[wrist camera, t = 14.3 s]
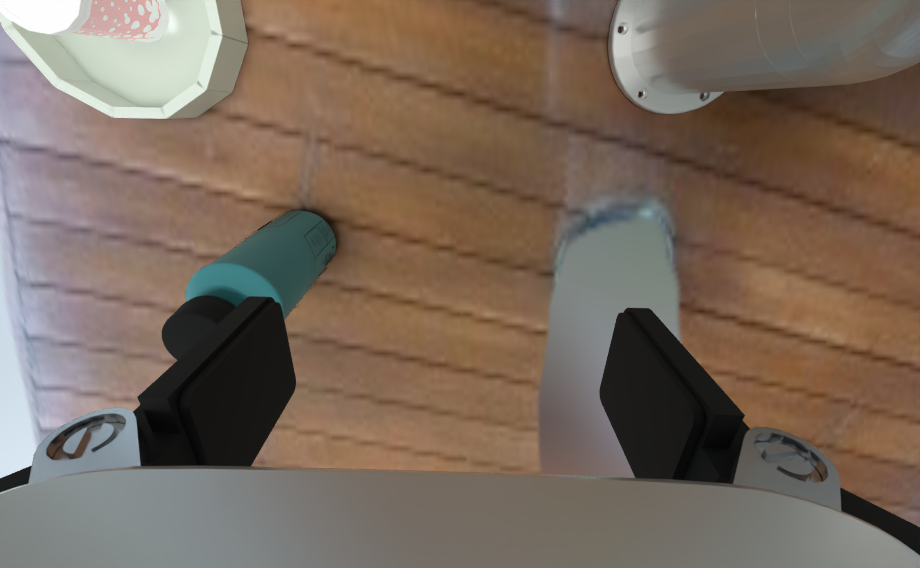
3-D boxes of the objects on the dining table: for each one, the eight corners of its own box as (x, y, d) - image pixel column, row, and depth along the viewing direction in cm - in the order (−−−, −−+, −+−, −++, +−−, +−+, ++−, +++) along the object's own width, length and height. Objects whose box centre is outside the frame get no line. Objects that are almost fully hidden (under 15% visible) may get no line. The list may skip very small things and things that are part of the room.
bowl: (50, -180, 27) (-13, -226, 23) (272, -30, 30) (248, -49, 27) (22, 48, 32) (-32, 40, 29) (213, 151, 36) (186, 156, 32)
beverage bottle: (278, 199, 38) (118, 282, 20) (345, 210, 39) (250, 302, 20) (278, 259, 41) (138, 382, 22) (342, 269, 41) (255, 397, 23)
